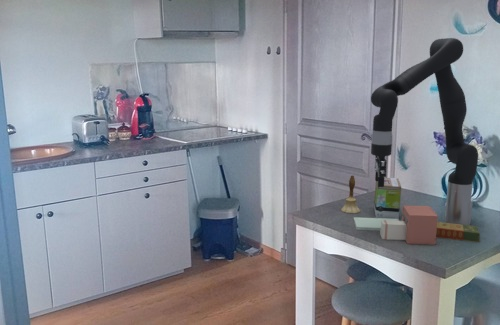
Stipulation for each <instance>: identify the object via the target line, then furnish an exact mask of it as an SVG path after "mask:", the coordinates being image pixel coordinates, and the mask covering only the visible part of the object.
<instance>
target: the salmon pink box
mask: <svg viewBox="0 0 500 325" xmlns="http://www.w3.org/2000/svg"><path fill="white" fill-rule="evenodd" d="M401 213H402V214H401V215H402V216H401V221H406V222H407V231H406V240H405V242H406V244H408V245H430V246H432V245H436V243H437V242H436V241H437V238H436V231H437V222H438V221H439V220H438V218H439V216H438V214H437V213H436V212H435V211H434V209H432V207H431V206H429V205H406V204H405V205H402V212H401Z"/></svg>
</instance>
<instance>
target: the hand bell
mask: <svg viewBox="0 0 500 325" xmlns="http://www.w3.org/2000/svg"><path fill="white" fill-rule="evenodd" d="M355 186H356V178H355V175H350V177H349V180H348V187H349V196H348V197H347V198H346V199H345V202H344V205H343V207H341V209H340V210H341V212H342V213H346V214H358V213H360V212H361V210H360V207H358V205H357V199H356V198H355V197H354V189H355Z"/></svg>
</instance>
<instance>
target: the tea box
mask: <svg viewBox="0 0 500 325" xmlns="http://www.w3.org/2000/svg"><path fill="white" fill-rule="evenodd" d="M374 188H375V189H374V190H375V191H374V201H373V202H374V205H373V207H374V208H373V209H374V218H388V219H398V220H399V218H400V207H401V195H402V185H401V182H400V180H399V178H396V177H395V178H394V177H384V187H378V181H375V187H374Z"/></svg>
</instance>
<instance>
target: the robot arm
mask: <svg viewBox="0 0 500 325" xmlns="http://www.w3.org/2000/svg"><path fill="white" fill-rule="evenodd" d="M463 54H464V44H463V43H462V41H461V40H459V39H458V38H456V37H447V38H438V39H435V40H433V41H432V43H431V44H430V46H429V57H428V58H426V59H424V60H423V61H420V62H419V63H417V64H415V65H412V66H411V67H409V68H407V69H406V70H404V71H402V72H401V73H400V74H399V75H398V76H396V77H395V78H394V79H392V80H390V81H388V82H386V83H384V84H382V85H380V86H378V87H377V88H376V89H375V90H374V91H373V92H372V93H371V96H370V102H371V104H372V105H373V106H374V107H376V108H379V111H378V114H375V115H374V116H373V120H372V133H371V143H370V144H371V146H370V154H371V155H372V156H374V171H375V176H374V180H375V182H376V181H378V187H384V178H387V163H388V161H387V160H386V157H390V156H391V155H392V151H393V150H392V148H393V124H394V122H393V119H394V117H395V114H396V112H397V107H398V102H399V99H398V98H399V97H398V96H404V95H406V94H408V93H409V92H410V91H412V90H413V89H414V88H416V87H417V86H418V85H420V83H422V82H423V81H425V80H426V79H428V78H429V77H431V76H432V75H434V76H435V80H436V87H437V91H438V92H437V93H438V98H439V102H440V104H439V105H440V109H441V115H442V120H443V121H442V122H443V128H444V133H445V136H444V137H445V152H446V158H447V159H448V161H449V162H450V163H451V164H454V165H455V170H454V172H451V173H450V174H448V176H447V177H448V179H447V180H448V181H447V191H446V201H445V214H444V223H452V224H461V225H470V226H471V222H472V221H471V220H472V211H473V202H472V194H473V193H472V192H473V186H474V185H473V183H474V179H475V177H476V174H477V168H478V162H479V151H478V148H476V146H474V145H473V144H469V143H466V142H465V139H464V133H463V126H464V122H465V119H466V116H467V102H466V95H465V91H464V90H463V88H462V86H461V85H460V83H459V82H458V80H457V79H456V77H455V75H454V73H453V69H452V64H453V63H455V62H457V61H458V60H459V59H460V58H461V57H462V55H463Z"/></svg>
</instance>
